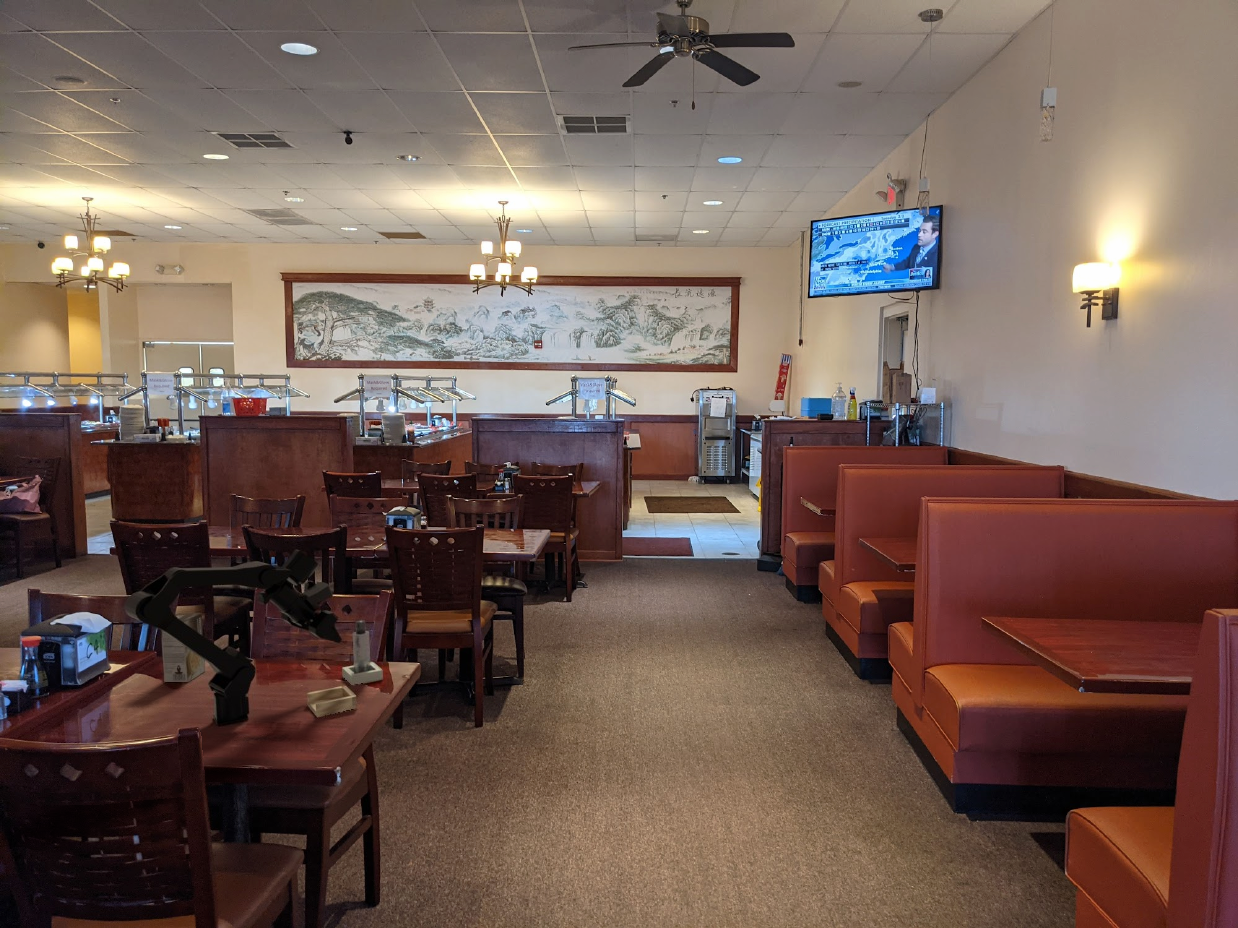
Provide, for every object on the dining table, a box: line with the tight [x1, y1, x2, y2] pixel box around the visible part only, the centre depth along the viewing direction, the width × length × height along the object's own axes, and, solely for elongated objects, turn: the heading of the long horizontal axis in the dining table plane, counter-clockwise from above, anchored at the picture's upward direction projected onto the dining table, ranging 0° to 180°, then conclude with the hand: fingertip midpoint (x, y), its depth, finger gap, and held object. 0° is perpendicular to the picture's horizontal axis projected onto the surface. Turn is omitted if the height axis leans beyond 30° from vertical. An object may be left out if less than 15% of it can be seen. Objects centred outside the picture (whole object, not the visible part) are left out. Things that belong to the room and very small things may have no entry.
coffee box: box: [160, 612, 206, 683], centre depth 221 cm, size 9×6×16 cm
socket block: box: [341, 661, 384, 686], centre depth 219 cm, size 8×8×2 cm
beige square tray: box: [306, 685, 358, 718], centre depth 199 cm, size 9×9×3 cm
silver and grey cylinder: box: [352, 619, 371, 674], centre depth 219 cm, size 4×4×15 cm
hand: (331, 636), depth 211 cm, fingers open, 9 cm apart
